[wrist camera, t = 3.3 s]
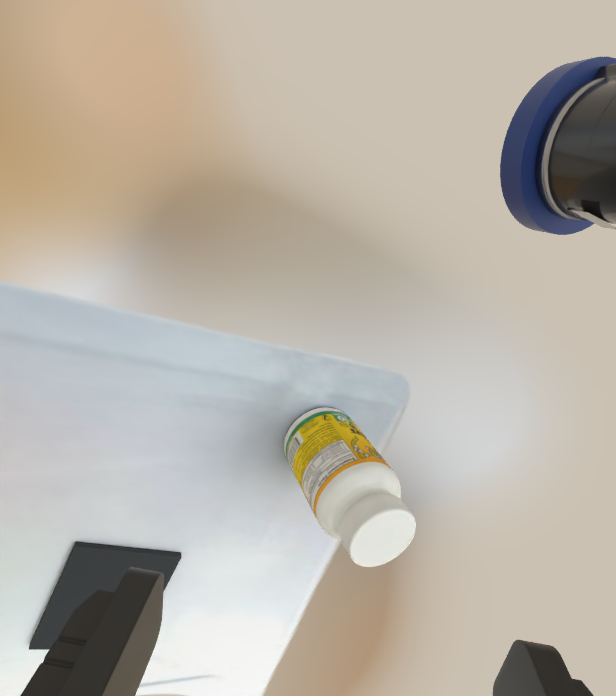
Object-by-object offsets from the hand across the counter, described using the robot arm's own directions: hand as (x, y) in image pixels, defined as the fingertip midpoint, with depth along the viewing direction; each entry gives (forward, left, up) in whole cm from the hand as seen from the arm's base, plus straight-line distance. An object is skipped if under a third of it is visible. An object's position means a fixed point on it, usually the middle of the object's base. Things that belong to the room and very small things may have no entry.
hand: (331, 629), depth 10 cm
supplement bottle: (+4, +10, -18) cm, 21 cm away
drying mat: (+20, +1, -18) cm, 27 cm away
